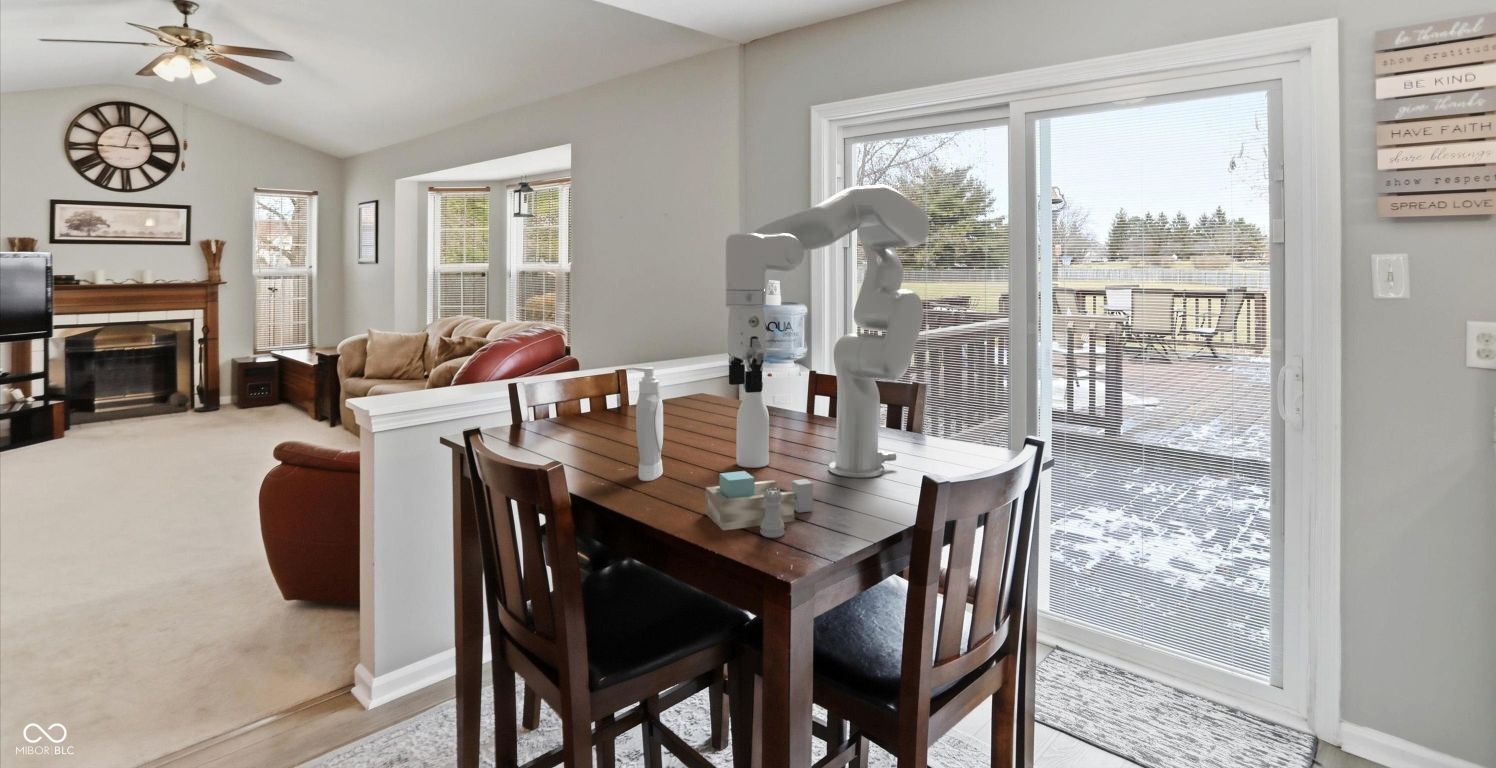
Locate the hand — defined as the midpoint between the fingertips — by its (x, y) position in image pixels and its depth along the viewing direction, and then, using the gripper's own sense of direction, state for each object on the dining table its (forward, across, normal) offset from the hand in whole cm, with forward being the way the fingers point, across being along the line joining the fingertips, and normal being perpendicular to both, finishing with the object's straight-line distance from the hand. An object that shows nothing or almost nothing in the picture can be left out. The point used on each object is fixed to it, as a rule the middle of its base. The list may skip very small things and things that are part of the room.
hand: (745, 388), depth 148 cm
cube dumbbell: (+23, -8, -2) cm, 24 cm away
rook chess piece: (+23, -18, +1) cm, 30 cm away
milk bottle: (+23, +27, -12) cm, 38 cm away
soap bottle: (+23, +26, +14) cm, 38 cm away
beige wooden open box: (+23, -8, +2) cm, 25 cm away
